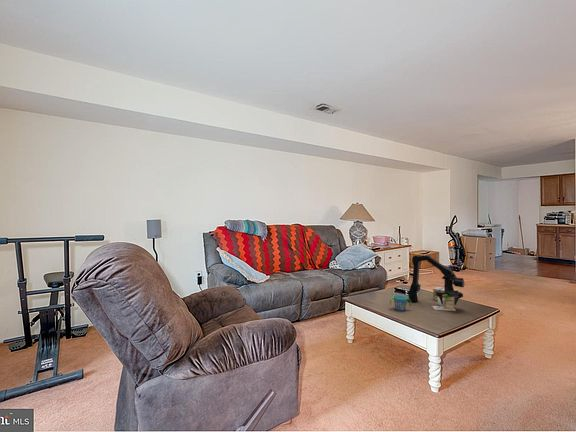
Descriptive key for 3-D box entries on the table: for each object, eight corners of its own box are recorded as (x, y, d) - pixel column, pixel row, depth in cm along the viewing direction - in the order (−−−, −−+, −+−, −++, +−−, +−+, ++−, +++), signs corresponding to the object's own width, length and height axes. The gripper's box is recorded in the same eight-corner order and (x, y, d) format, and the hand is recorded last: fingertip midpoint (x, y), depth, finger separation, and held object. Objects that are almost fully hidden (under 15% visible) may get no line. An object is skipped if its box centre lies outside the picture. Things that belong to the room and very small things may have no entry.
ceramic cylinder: (438, 305, 226) (438, 298, 226) (437, 304, 230) (437, 296, 229) (444, 305, 225) (444, 298, 225) (442, 304, 229) (442, 297, 229)
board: (434, 310, 216) (434, 308, 216) (431, 306, 223) (431, 305, 223) (455, 311, 213) (455, 309, 213) (452, 307, 221) (452, 306, 221)
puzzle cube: (437, 297, 246) (437, 286, 246) (449, 300, 239) (449, 288, 239) (433, 300, 239) (433, 288, 239) (446, 303, 232) (446, 291, 232)
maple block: (444, 306, 221) (443, 299, 220) (450, 306, 220) (450, 299, 220) (446, 308, 216) (446, 301, 216) (453, 309, 215) (453, 301, 215)
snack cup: (409, 308, 221) (409, 295, 221) (412, 312, 211) (412, 299, 211) (389, 306, 225) (389, 294, 225) (390, 311, 215) (390, 298, 215)
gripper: (439, 287, 211) (439, 307, 211) (466, 288, 208) (466, 309, 208) (434, 283, 222) (434, 303, 222) (459, 284, 219) (460, 304, 219)
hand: (448, 304), depth 218 cm, fingers open, 9 cm apart
